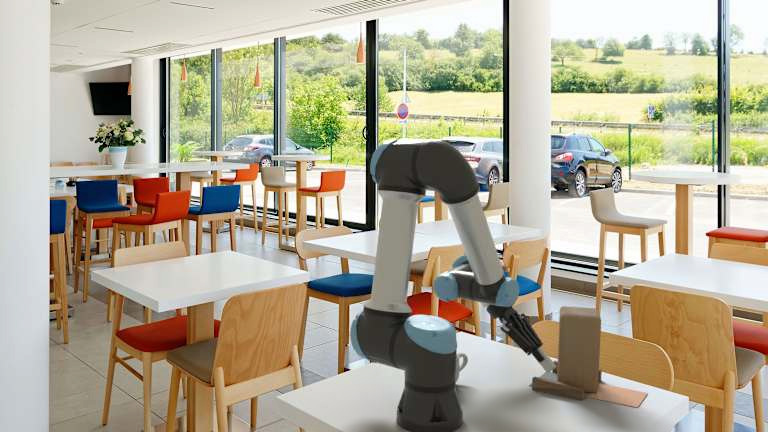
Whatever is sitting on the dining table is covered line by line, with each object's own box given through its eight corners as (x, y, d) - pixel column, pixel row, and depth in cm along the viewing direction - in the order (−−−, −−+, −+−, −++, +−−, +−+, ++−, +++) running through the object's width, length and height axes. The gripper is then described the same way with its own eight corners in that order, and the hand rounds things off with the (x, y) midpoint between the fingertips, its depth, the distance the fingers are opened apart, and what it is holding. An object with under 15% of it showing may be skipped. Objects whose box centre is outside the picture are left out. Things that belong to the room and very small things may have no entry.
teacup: (426, 394, 168) (426, 363, 167) (412, 379, 178) (413, 350, 177) (477, 389, 171) (477, 359, 171) (461, 375, 182) (461, 346, 181)
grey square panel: (586, 398, 166) (586, 397, 166) (529, 385, 174) (529, 385, 174) (601, 382, 177) (601, 382, 176) (546, 371, 185) (546, 371, 185)
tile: (637, 408, 160) (637, 407, 160) (587, 397, 167) (587, 396, 167) (647, 393, 169) (647, 393, 169) (600, 384, 176) (600, 383, 176)
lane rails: (582, 400, 164) (582, 388, 164) (531, 389, 171) (532, 378, 171) (601, 380, 178) (601, 369, 178) (554, 370, 186) (554, 360, 185)
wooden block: (595, 380, 177) (598, 307, 175) (598, 394, 168) (601, 317, 166) (557, 377, 180) (559, 305, 178) (557, 390, 170) (560, 314, 168)
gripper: (495, 296, 177) (554, 369, 170) (513, 287, 188) (569, 355, 181) (476, 313, 180) (533, 385, 173) (496, 303, 191) (550, 370, 184)
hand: (552, 369), depth 177 cm, fingers closed
